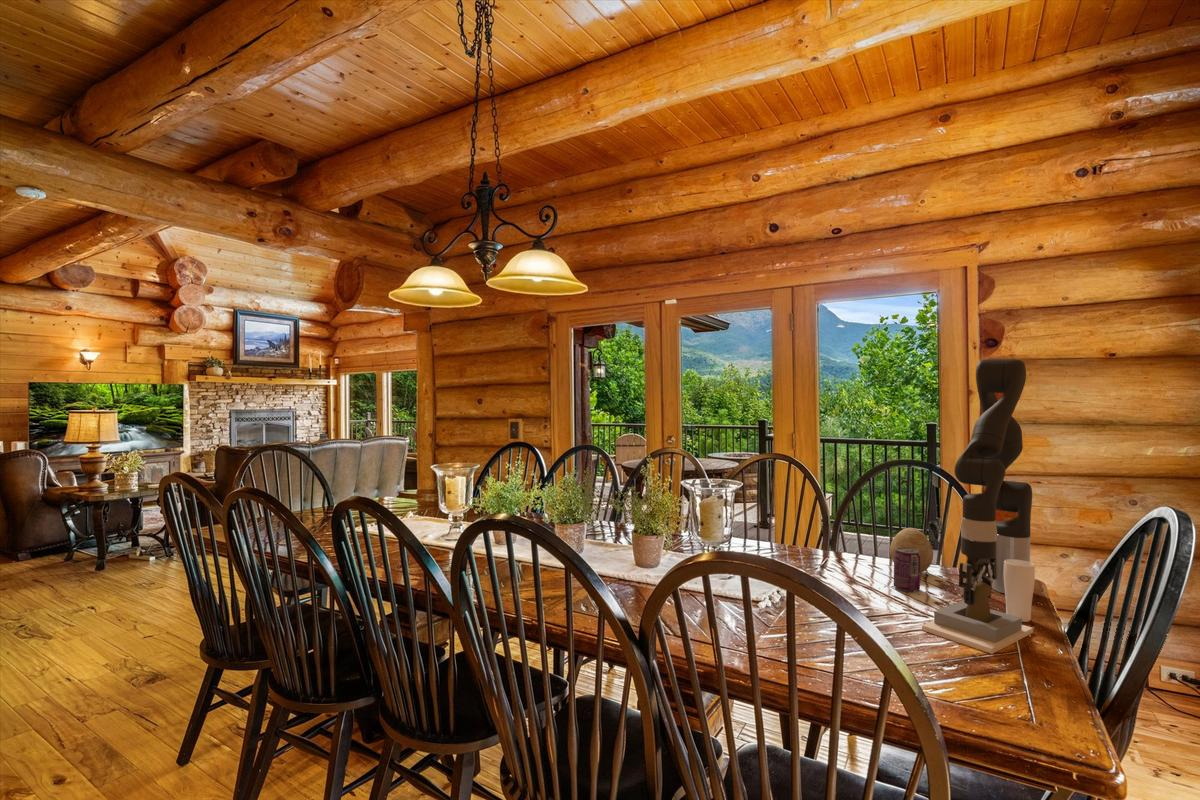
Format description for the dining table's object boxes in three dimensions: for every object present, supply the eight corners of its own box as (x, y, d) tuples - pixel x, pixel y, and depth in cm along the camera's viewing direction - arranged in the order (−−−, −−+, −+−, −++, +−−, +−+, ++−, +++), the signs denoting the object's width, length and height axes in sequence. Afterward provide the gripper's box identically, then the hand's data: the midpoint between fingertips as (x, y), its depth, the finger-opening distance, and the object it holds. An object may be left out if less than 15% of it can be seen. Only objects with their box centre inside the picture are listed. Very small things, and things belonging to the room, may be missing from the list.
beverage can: (920, 588, 181) (921, 549, 181) (918, 594, 175) (919, 554, 175) (894, 583, 185) (895, 545, 184) (892, 590, 179) (892, 550, 178)
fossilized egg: (922, 567, 202) (922, 524, 201) (940, 579, 189) (941, 533, 189) (883, 566, 203) (884, 523, 202) (898, 578, 190) (899, 532, 190)
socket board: (964, 612, 161) (965, 597, 161) (1033, 632, 148) (1033, 615, 148) (921, 630, 149) (922, 613, 149) (991, 653, 136) (992, 635, 136)
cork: (996, 631, 145) (997, 587, 145) (969, 629, 147) (970, 585, 147) (986, 622, 151) (987, 579, 151) (960, 619, 153) (960, 577, 152)
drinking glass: (1030, 616, 158) (1031, 561, 158) (1036, 625, 152) (1038, 567, 152) (1000, 612, 161) (1001, 557, 161) (1005, 621, 155) (1006, 564, 155)
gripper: (976, 529, 155) (975, 591, 155) (948, 537, 147) (947, 601, 148) (1008, 535, 149) (1007, 599, 149) (981, 544, 141) (980, 611, 141)
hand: (977, 600), depth 148 cm, fingers open, 8 cm apart
